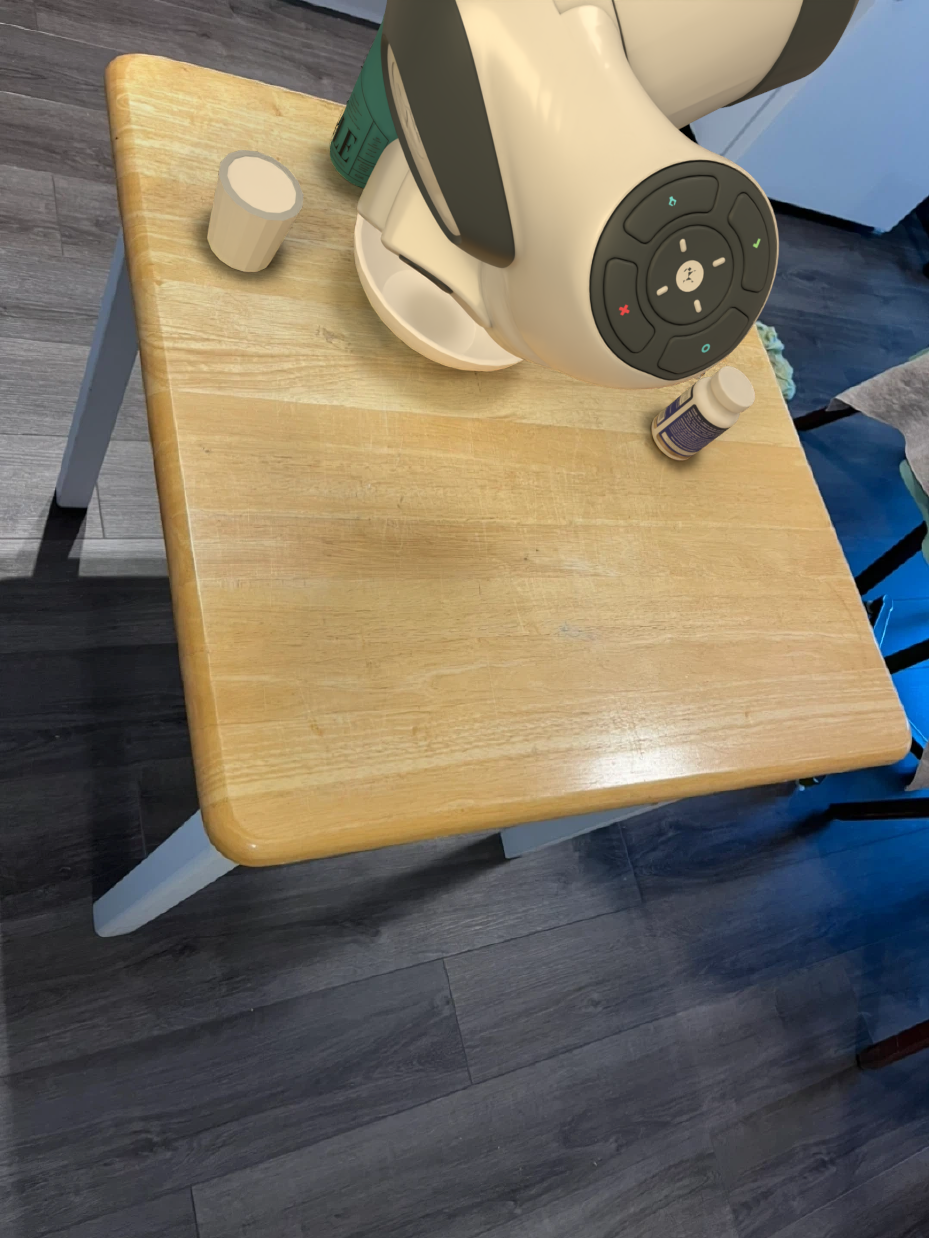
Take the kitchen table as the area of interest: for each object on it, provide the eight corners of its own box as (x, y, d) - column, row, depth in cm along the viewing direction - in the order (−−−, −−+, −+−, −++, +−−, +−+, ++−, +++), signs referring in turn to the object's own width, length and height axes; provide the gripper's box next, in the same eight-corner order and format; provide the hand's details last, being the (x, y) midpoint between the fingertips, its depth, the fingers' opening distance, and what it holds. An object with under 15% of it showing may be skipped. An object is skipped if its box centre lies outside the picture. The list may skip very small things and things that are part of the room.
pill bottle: (698, 462, 94) (767, 412, 86) (659, 462, 91) (726, 410, 83) (681, 416, 96) (748, 362, 87) (642, 414, 93) (707, 358, 84)
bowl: (290, 319, 75) (316, 265, 70) (378, 196, 85) (407, 141, 80) (477, 447, 80) (515, 406, 75) (539, 317, 90) (577, 272, 85)
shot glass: (294, 255, 78) (320, 197, 72) (246, 291, 74) (270, 233, 68) (234, 200, 77) (255, 136, 71) (182, 233, 73) (200, 169, 67)
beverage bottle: (397, 193, 87) (496, 8, 70) (351, 211, 83) (444, 21, 67) (354, 141, 87) (444, -57, 70) (306, 157, 83) (389, -48, 66)
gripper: (750, 324, 47) (653, 314, 59) (414, 94, 40) (386, 137, 53) (685, 430, 48) (604, 397, 61) (351, 224, 42) (338, 236, 54)
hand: (500, 275), depth 57 cm, fingers open, 8 cm apart
